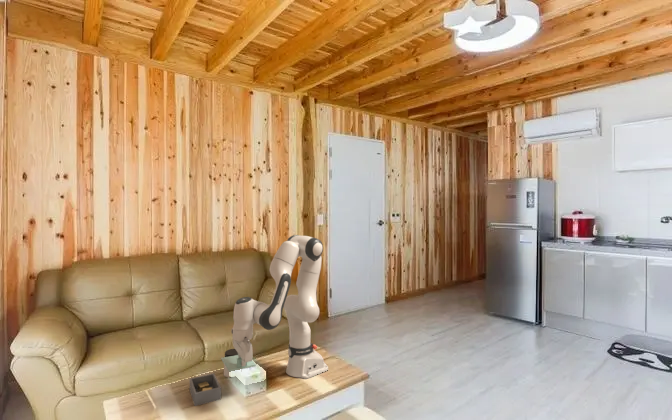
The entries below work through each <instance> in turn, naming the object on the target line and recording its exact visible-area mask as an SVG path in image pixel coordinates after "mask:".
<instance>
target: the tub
mask: <svg viewBox="0 0 672 420" xmlns="http://www.w3.org/2000/svg"><path fill="white" fill-rule="evenodd" d="M202 382H207V383H208V384H209V388H211V387H212V389H210V390H205V391H201V392H199V391H198V384H199V383H202ZM188 390H189V393H190V397H191V399H192V402H193V406H194V407H196V406H200V405H203V404H207V403H212V402H216V401H219V400H221V399H222V387H221V385H220V383H219V381H218V379H217V377H216V374H215V373H209V374H205V375H201V376H196V377H191V378H189V389H188Z"/></svg>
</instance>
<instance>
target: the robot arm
mask: <svg viewBox="0 0 672 420" xmlns="http://www.w3.org/2000/svg"><path fill="white" fill-rule="evenodd" d="M323 245H324V244H323V242H322V240H320V239H319V238H316V237H313V236H308V235H299V234H294V235H291V236H289V237H288V239H287V240H285V241H283V242H282V243H281V244H280V245H279V247H278V249H277V251H276V253H275V254H274V255H273V258H272V260H271V262H270V265H269V273H270V275H271V277H272V278H273V280H274V282H275V290H274V293H273V295H272V298H271V301H270V304H268V303H266V302H263V301H258V300H256V299H253V298H252V297H250V296H246V297H245V296H243V297H240V298H238V299H237V300H236V301H235V303H234V307H233V317H232V318H233V326H232V328H231V334H232V346H233V349H235V350H236V351H237V352H238V358H241V359H242V361H241V366H242V367H243V366H246V362H250V361H253V358H254V357H253V355H254V354H253V352H254V351H253V344H252V342H251V341H250V340H251V339H253V338H254V337H253V336H254V334H253V333H254V324H257V325H259V326H260V327H262V328H264V329H265V330H268V331H272V330H274V329H276V328H277V327H278V326H279V325H280V323H281V322H282V318H283V310H284V311H285V314H286V318H287V324H288V328H289V331H288V332H289V343H288V352H287V353H288V359H287V366H286V369H285V372H286V374H287V375H288V376H289V377H294V378H301V379H305V380H306V379H310V378H312V377H314V376H317V374H318V375H319V374H323V373H326V372H328V371H329V366H328V364H326V362H324V358H323V356H322V354H320V353H319V351H316V350H317V348H318V346H317V345H316V344H314V343H312V342H311V339H312V338H311V336H312V335H311V333H312V331H311V327H310V325H309V323H314V322H315V321H317V319H318V318H319V316H320V307H319V305H318V302H317V288H318V287H317V286H318V283H319V279H320V274H321V269H322V262H323V261H322V260H323V259H322V254H323V251H324V246H323ZM299 257H301V259H302V260H301V263H300V266H299V271H298V273H297V274H298V275H297V278H296V285H295V286H296V288H297V294H290V295H288V294H289V291H290V288H291V284H292V273H293V270H294V268H295V265H296V263H297V260H298V258H299ZM327 370H328V371H327ZM325 371H326V372H325ZM322 372H323V373H322Z"/></svg>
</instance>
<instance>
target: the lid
mask: <svg viewBox="0 0 672 420" xmlns="http://www.w3.org/2000/svg"><path fill="white" fill-rule="evenodd" d="M221 361H222V363H223V365H224V364H225V366H226V367H227V369H228V370H229V372H231V371H235V370H240V369H241V370H245V369H250V368H255V367H257V366H256V363H255V362H254V361H253V360H252V361H250V362H246V366H243V367H242V366H241V361H242V359H241V358H238V355H235V356H229V357H225V356H224V357H221Z"/></svg>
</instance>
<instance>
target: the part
mask: <svg viewBox="0 0 672 420" xmlns="http://www.w3.org/2000/svg"><path fill="white" fill-rule="evenodd" d="M203 388H209V384H208V383H207V382H202V383H199V384H198V391H199V392H201V391H202V390H203Z"/></svg>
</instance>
